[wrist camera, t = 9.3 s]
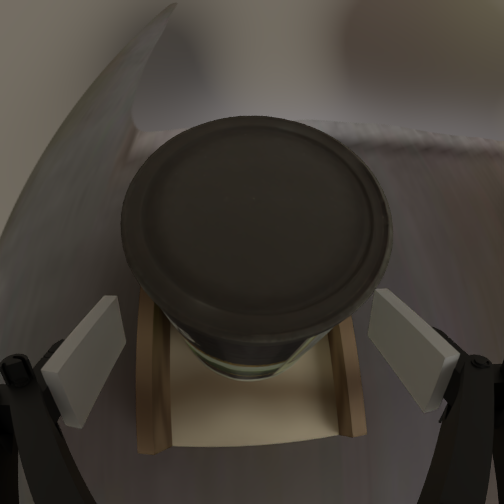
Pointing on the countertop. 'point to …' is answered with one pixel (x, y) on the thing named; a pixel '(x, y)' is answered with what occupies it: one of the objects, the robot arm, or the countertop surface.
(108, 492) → the countertop surface
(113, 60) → the countertop surface
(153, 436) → the curved wooden tray
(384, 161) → the countertop surface
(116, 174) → the countertop surface
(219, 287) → the coffee can
